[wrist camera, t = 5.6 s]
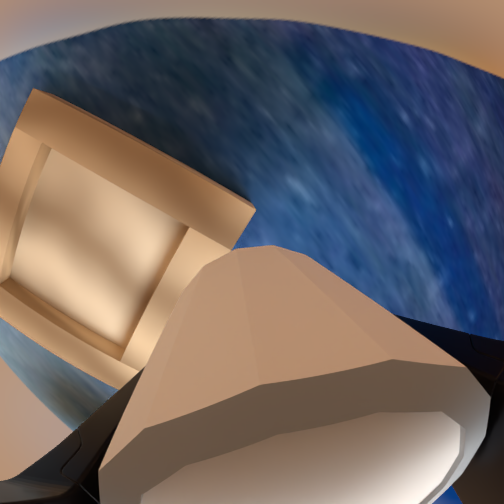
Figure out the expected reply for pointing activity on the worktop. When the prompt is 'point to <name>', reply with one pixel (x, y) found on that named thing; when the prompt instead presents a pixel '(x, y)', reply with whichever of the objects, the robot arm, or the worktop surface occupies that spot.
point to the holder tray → (101, 236)
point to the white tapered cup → (291, 397)
